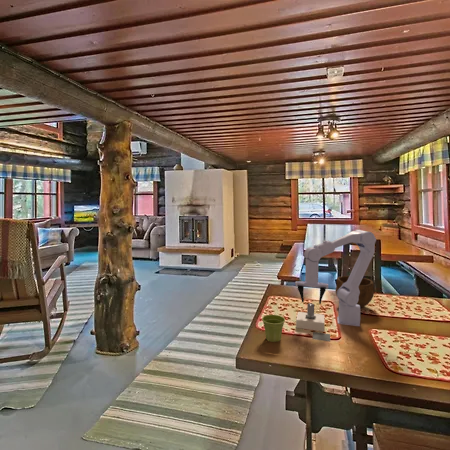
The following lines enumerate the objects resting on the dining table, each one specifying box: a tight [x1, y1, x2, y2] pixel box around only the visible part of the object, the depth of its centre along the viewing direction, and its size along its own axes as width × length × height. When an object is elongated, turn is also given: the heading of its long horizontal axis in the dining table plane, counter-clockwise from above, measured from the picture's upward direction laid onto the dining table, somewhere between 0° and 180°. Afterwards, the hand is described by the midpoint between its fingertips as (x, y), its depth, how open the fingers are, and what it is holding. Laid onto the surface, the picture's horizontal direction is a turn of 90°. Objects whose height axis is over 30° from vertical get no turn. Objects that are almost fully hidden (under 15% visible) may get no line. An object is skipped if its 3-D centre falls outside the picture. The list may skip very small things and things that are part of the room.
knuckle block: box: [295, 311, 325, 332], centre depth 139 cm, size 12×10×4 cm
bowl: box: [335, 275, 375, 308], centre depth 163 cm, size 19×19×15 cm
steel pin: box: [306, 302, 315, 319], centre depth 139 cm, size 3×3×10 cm
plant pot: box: [261, 314, 286, 343], centre depth 126 cm, size 9×9×9 cm
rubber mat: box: [312, 331, 331, 342], centre depth 128 cm, size 7×7×1 cm
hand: (311, 302), depth 141 cm, fingers open, 7 cm apart
